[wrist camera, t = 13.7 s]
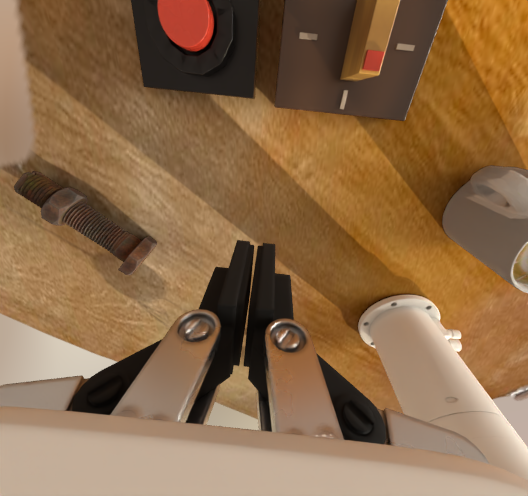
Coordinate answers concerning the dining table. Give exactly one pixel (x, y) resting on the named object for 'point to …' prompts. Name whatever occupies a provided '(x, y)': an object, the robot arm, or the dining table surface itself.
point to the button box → (202, 51)
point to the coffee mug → (493, 221)
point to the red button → (187, 22)
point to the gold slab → (368, 38)
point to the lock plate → (333, 54)
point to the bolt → (83, 219)
